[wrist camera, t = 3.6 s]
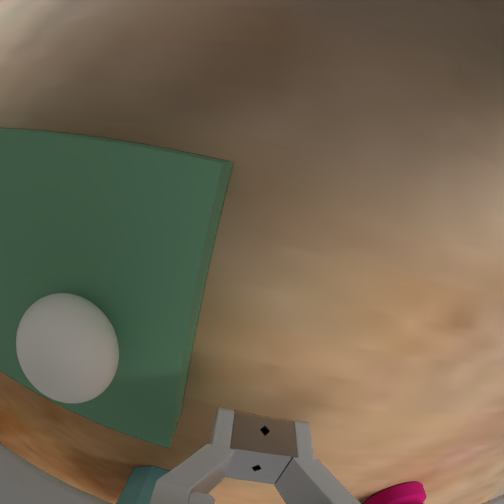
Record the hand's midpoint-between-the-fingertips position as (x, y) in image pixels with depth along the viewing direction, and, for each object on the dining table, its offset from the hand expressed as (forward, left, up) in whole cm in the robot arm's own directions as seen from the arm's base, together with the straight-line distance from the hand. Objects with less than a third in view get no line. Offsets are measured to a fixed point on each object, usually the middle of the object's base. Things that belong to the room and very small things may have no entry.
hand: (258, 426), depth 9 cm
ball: (0, -7, -1) cm, 7 cm away
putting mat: (0, -15, -5) cm, 16 cm away
